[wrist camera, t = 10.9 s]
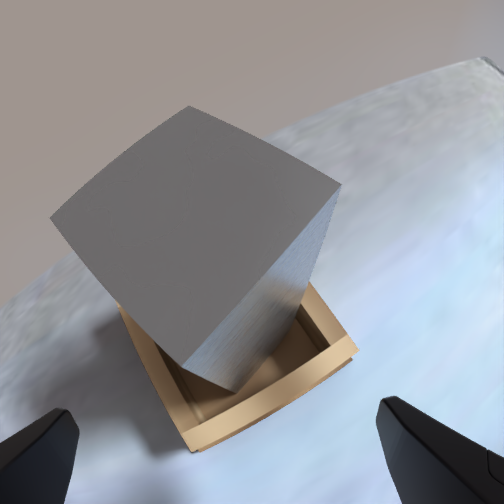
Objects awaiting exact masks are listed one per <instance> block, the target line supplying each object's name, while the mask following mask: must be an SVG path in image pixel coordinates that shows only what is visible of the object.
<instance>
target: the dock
mask: <svg viewBox="0 0 504 504" xmlns="http://www.w3.org/2000/svg"><path fill="white" fill-rule="evenodd" d="M115 301H116V300H115ZM116 303H117V306H118V308H119V311H120V313H121V316H122V318H123V321H124V323H125V325H126V328H127V330H128V332H129V335H130V337H131V339H132V341H133V344H134V346H135V348H136V350H137V352H138V355H139V357H140V359H141V361H142V363H143V365H144V367H145V369H146V371H147V373H148V375H149V377H150V379H151V381H152V383H153V385H154V387H155V389H156V391H157V393H158V395H159V397H160V399H161V401H162V402H163V404H164V406H165V408H166V410H167V412H168V413H169V415H170V417H171V419H172V420H173V422H174V424H175V426H176V427H177V429H178V431H179V433H180V434H181V436H182V438H183V439H184V441H185V442H186V444H187V446H188V447H189V449H190V451H191V452H194V451H196V450H198V451H199V452H202V451H204V450H206V449H208V448H210V447H212V446H214V445H216V444H218V443H220V442H222V441H224V440H226V439H228V438H230V437H232V436H234V435H236V434H238V433H240V432H241V431H243V430H245V429H247V428H249V427H251V426H252V425H254V424H256V423H258V422H259V421H261V420H263V419H265V418H266V417H268V416H270V415H271V414H273V413H275V412H276V411H278V410H280V409H281V408H283V407H285V406H286V405H288V404H289V403H291V402H293V401H294V400H296V399H297V398H299V397H300V396H302V395H303V394H305V393H307V392H308V391H310V390H311V389H313V388H314V387H316V386H317V385H318V384H320V383H321V382H323V381H324V380H326V379H327V378H329V377H330V376H331V375H333V374H334V373H336V372H337V371H338V370H340V369H341V368H343V367H344V366H345V365H347V364H348V363H349V362H351V361H352V360H353V359H352V358H351V357H352V356H353V355H354V354H356V353H357V352H358V351H359V349H358V348H357V346H356V345H355V344H354V342H353V341H352V339H351V338H350V337H349V335H348V334H347V332H346V331H345V330H344V328H343V327H342V325H341V324H340V323H339V321H338V320H337V319H336V317H335V316H334V314H333V313H332V312H331V310H330V309H329V308H328V306H327V305H326V303H325V302H324V301H323V299H322V298H321V297H320V295H319V294H318V293H317V291H316V290H315V288H314V287H313V286H312V284H311V283H310V282H308V285H307V288H306V290H305V293H304V296H303V298H302V301H301V303H300V306H299V309H298V311H297V314H296V316H295V319H294V321H293V324H292V327H291V329H290V332H289V333H288V334H287V335H286V337H285V338H284V339H283V340H282V342H281V343H280V344H279V345H278V346H277V348H276V349H275V350H274V351H273V353H272V354H271V355H270V356H269V357H268V358H267V360H266V361H265V362H264V363H263V364H262V366H261V367H260V368H259V369H258V370H257V371H256V373H255V374H254V375H253V376H252V377H251V378H250V380H249V381H248V382H247V383H246V384H245V385H244V386H243V388H242V389H241V390H240V391H239V392H238V393H234V392H232V391H230V390H228V389H225V388H223V387H221V386H219V385H217V384H215V383H213V382H211V381H208V380H206V379H204V378H202V377H200V376H198V375H196V374H194V373H192V372H190V371H188V370H186V369H184V368H183V367H181V366H180V365H179V364H178V363H177V362H175V361H174V360H173V359H172V358H171V357H170V356H169V355H168V354H167V353H166V352H165V351H164V350H163V349H162V348H161V347H160V346H159V345H158V344H157V343H156V342H155V341H154V340H153V339H152V338H151V337H150V336H149V335H148V334H147V333H146V332H145V331H144V330H143V329H142V328H141V327H140V326H139V325H138V324H137V323H136V322H135V321H134V320H133V319H132V318H131V316H130V315H129V314H128V313H127V312H126V311H125V310H124V309H123V308H122V307H121V306H120V305H119V303H118V302H117V301H116Z"/></svg>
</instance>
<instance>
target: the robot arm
mask: <svg viewBox="0 0 504 504" xmlns="http://www.w3.org/2000/svg"><path fill="white" fill-rule="evenodd" d="M376 426H377V429H378V433H379V437H380V440H381V444H382V448H383V451H384V455H385V459H386V463H387V466H388V469H389V472H390V474H391V477H392V479H393V482H394V484H395V487H396V489H397V492H398V494H399V497H400V499H401V502H402V504H504V457H502V456H500V455H498V454H496V453H494V452H492V451H490V450H487V449H486V448H485V447H483V446H481V445H479V444H477V443H476V442H474V441H472V440H470V439H468V438H467V437H465V436H463V435H461V434H460V433H458V432H456V431H454V430H453V429H451V428H449V427H447V426H446V425H444V424H442V423H440V422H439V421H437V420H435V419H434V418H432V417H430V416H429V415H427V414H425V413H423V412H422V411H420V410H418V409H417V408H415V407H413V406H412V405H410V404H408V403H407V402H405V401H404V400H402V399H400V398H399V397H397V396H390V397H386V398H383V399H382V400H381V401H380V404H379V408H378V412H377V416H376ZM78 439H79V428H78V426H77V424H76V422H75V420H74V419H73V417H72V415H71V413H70V412H69V411H68V410H67V409H61V408H55V409H54V410H52V411H51V412H49V413H47V414H46V415H44V416H43V417H41V418H40V419H38V420H36V421H35V422H33V423H32V424H30V425H29V426H27V427H25V428H24V429H22V430H21V431H19V432H17V433H16V434H14V435H12V436H11V437H9V438H8V439H6V440H4V441H3V442H1V443H0V504H64V501H65V497H66V494H67V490H68V486H69V483H70V479H71V475H72V471H73V466H74V460H75V455H76V449H77V444H78Z"/></svg>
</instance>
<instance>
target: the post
mask: <svg viewBox="0 0 504 504" xmlns="http://www.w3.org/2000/svg"><path fill="white" fill-rule="evenodd" d="M341 185H342V184H340V183H338V182H337V181H335V180H333V179H332V178H330V177H328V176H327V175H325V174H323V173H322V172H320V171H318V170H316V169H315V168H313V167H311V166H309V165H308V164H306V163H304V162H302V161H300V160H299V159H297V158H295V157H293V156H291V155H289V154H288V153H286V152H284V151H282V150H280V149H278V148H276V147H274V146H273V145H271V144H269V143H267V142H265V141H263V140H261V139H259V138H257V137H255V136H253V135H251V134H249V133H247V132H245V131H243V130H241V129H239V128H237V127H235V126H233V125H230V124H228V123H226V122H224V121H222V120H220V119H218V118H216V117H213V116H211V115H209V114H207V113H204V112H202V111H200V110H198V109H195V108H193V107H191V106H188V107H186V108H185V109H183V110H181V111H180V112H178V113H177V114H175V115H174V116H172V117H171V118H169V119H168V120H167V121H165V122H164V123H162V124H161V125H159V126H158V127H157V128H155V129H154V130H152V131H151V132H150V133H148V134H147V135H145V136H144V137H143V138H142V139H140V140H139V141H137V142H136V143H135V144H134V145H132V146H131V147H130V148H129V149H127V150H126V151H124V152H123V153H122V154H121V155H119V156H118V157H117V158H116V159H114V160H113V161H112V162H111V163H110V164H108V165H107V166H106V167H105V168H104V169H102V170H101V171H100V172H99V173H98V174H96V175H95V176H94V177H93V178H92V179H91V180H90V181H88V182H87V183H86V184H85V185H84V186H83V187H82V188H81V189H80V190H78V191H77V192H76V193H75V194H74V195H73V196H72V197H71V198H70V199H69V200H68V201H66V202H65V203H64V204H63V205H62V206H61V207H60V209H58V210H57V211H56V212H55V213H54V214H53V215H52V216H51V217H50V219H51V221H52V222H53V223H54V225H55V226H56V227H57V229H58V230H59V231H60V233H61V234H62V236H63V237H64V238H65V239H66V241H67V242H68V243H69V245H70V246H71V247H72V249H73V250H74V251H75V252H76V254H77V255H78V256H79V258H80V259H81V260H82V261H83V262H84V264H85V265H86V266H87V267H88V269H89V270H90V271H91V272H92V273H93V275H94V276H95V277H96V278H97V279H98V281H99V282H100V283H101V284H102V285H103V286H104V288H105V289H106V290H107V291H108V292H109V293H110V294H111V296H112V297H113V298H114V299H115V300H116V301H117V302H118V303H119V305H120V306H121V307H122V308H123V309H124V310H125V311H126V312H127V313H128V314H129V315H130V316H131V318H132V319H133V320H134V321H135V322H136V323H137V324H138V325H139V326H140V327H141V328H142V329H143V330H144V331H145V332H146V333H147V334H148V335H149V336H150V337H151V338H152V339H153V340H154V341H155V342H156V343H157V344H158V345H159V346H160V347H161V348H162V349H163V350H164V351H165V352H166V353H167V354H168V355H169V356H170V357H171V358H172V359H173V360H174V361H175V362H177V363H178V364H179V365H180V366H181V367H183V368H184V369H186V370H188V371H190V372H192V373H194V374H196V375H198V376H200V377H202V378H204V379H206V380H208V381H211V382H213V383H215V384H217V385H219V386H221V387H223V388H225V389H228V390H230V391H232V392H234V393H238V392H239V391H240V390H241V389H242V388H243V386H244V385H245V384H246V383H247V382H248V381H249V380H250V378H251V377H252V376H253V375H254V374H255V373H256V371H257V370H258V369H259V368H260V367H261V366H262V364H263V363H264V362H265V361H266V360H267V358H268V357H269V356H270V355H271V354H272V353H273V351H274V350H275V349H276V348H277V346H278V345H279V344H280V343H281V342H282V340H283V339H284V338H285V337H286V335H287V334H288V333H289V332H290V329H291V327H292V324H293V321H294V319H295V316H296V314H297V311H298V309H299V306H300V303H301V301H302V298H303V296H304V293H305V290H306V288H307V285H308V282H309V279H310V277H311V274H312V271H313V268H314V266H315V263H316V260H317V257H318V254H319V252H320V249H321V246H322V243H323V240H324V237H325V234H326V231H327V228H328V225H329V222H330V219H331V216H332V213H333V210H334V207H335V204H336V201H337V198H338V195H339V192H340V189H341Z"/></svg>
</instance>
